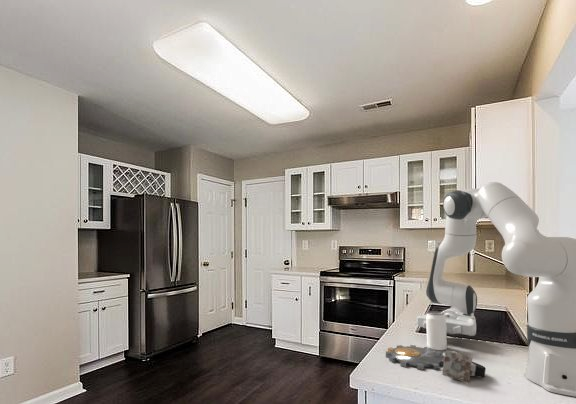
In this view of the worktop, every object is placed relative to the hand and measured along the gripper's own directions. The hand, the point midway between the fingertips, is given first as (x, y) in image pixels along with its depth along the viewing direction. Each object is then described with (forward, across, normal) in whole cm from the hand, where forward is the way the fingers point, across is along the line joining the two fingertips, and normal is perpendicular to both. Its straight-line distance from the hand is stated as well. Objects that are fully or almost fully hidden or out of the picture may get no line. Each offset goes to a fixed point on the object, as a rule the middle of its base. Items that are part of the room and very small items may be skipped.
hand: (437, 328), depth 123 cm
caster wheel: (+20, +14, +7) cm, 25 cm away
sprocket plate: (+16, -1, +6) cm, 17 cm away
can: (+1, 0, +7) cm, 7 cm away
